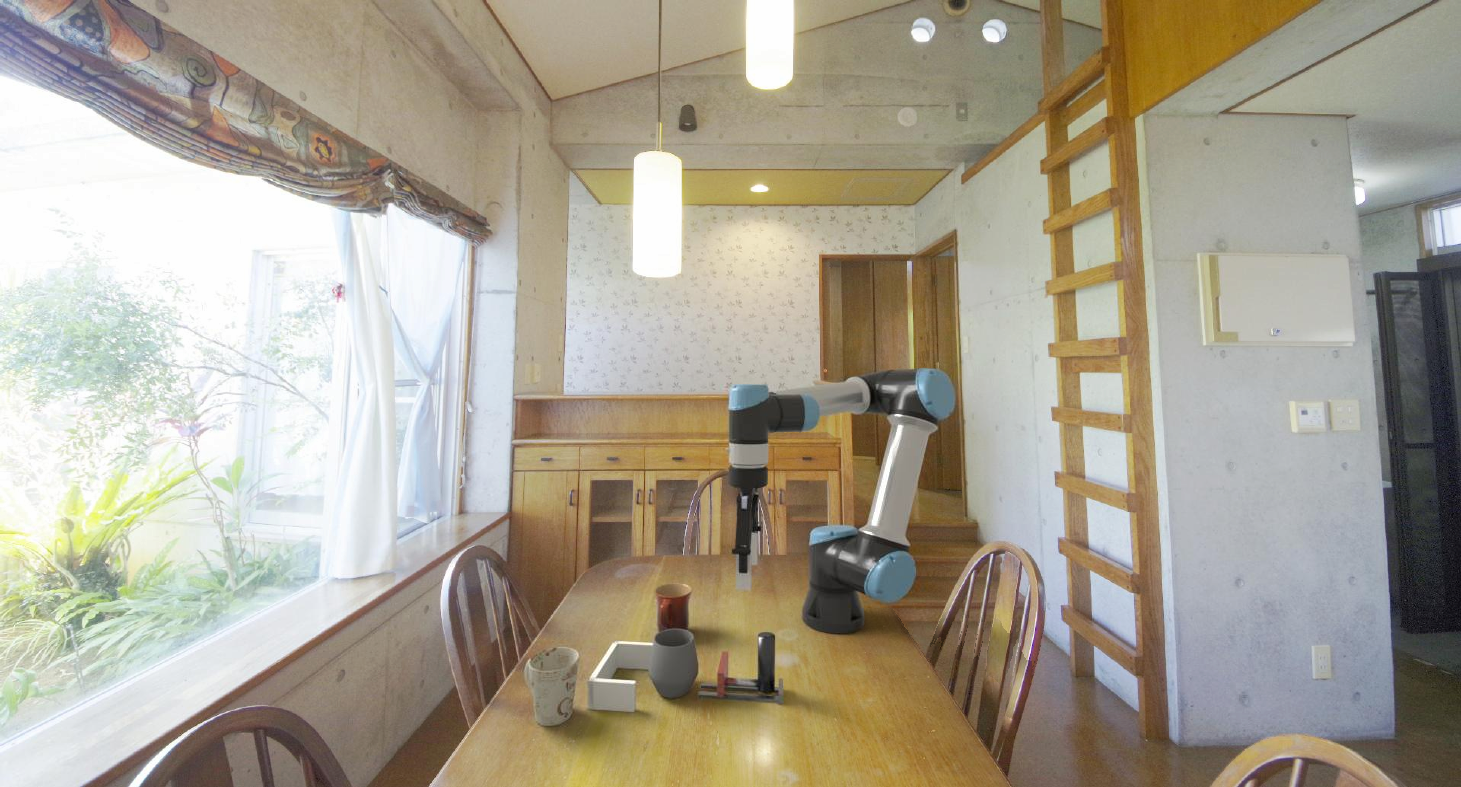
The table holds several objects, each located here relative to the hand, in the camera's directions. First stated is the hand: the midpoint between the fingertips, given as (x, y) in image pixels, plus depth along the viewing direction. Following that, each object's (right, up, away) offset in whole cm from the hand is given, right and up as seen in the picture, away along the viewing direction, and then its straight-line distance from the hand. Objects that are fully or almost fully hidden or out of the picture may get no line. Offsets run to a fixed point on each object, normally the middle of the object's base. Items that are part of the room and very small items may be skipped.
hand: (747, 576), depth 101 cm
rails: (-2, -21, -2) cm, 22 cm away
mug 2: (-17, -21, +21) cm, 34 cm away
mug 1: (-36, -21, -8) cm, 42 cm away
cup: (-14, -22, -1) cm, 26 cm away
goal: (-24, -21, 0) cm, 32 cm away
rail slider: (0, -20, -2) cm, 20 cm away
